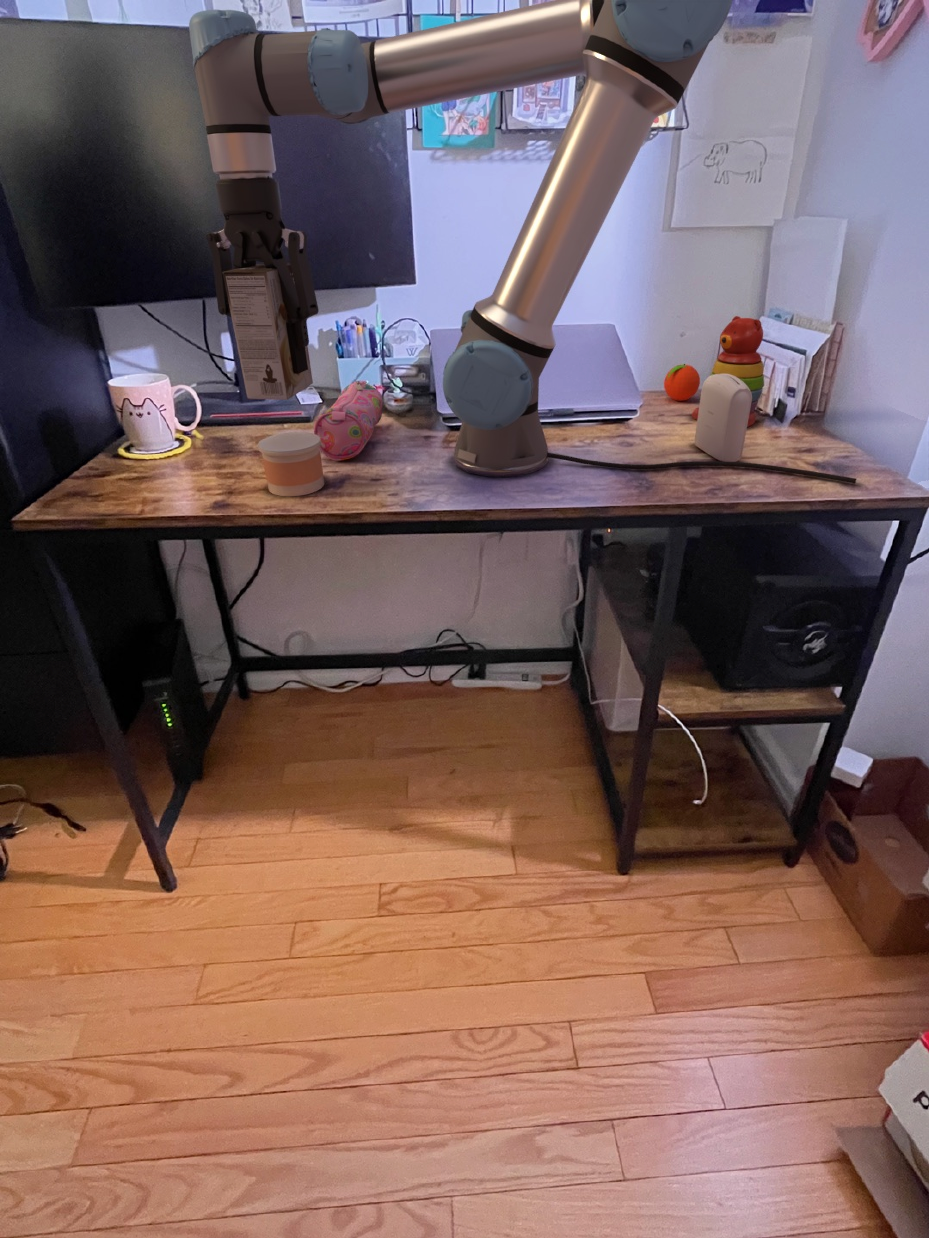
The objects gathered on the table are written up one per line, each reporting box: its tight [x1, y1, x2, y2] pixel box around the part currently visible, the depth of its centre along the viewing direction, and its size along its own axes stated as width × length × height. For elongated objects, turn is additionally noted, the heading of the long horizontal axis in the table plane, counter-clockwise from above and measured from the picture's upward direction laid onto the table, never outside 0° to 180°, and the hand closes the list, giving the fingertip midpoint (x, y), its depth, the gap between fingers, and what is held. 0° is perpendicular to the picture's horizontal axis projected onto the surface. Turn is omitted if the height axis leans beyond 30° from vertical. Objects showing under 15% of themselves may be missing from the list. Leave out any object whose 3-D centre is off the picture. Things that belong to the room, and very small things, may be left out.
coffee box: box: [223, 262, 314, 401], centre depth 96 cm, size 9×6×16 cm
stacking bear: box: [691, 315, 765, 428], centre depth 125 cm, size 11×10×18 cm
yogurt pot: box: [257, 431, 325, 497], centre depth 106 cm, size 9×9×7 cm
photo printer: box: [694, 374, 752, 462], centre depth 112 cm, size 10×4×12 cm, turn 11°
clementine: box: [663, 363, 701, 402], centre depth 141 cm, size 8×7×7 cm
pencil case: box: [313, 380, 384, 461], centre depth 122 cm, size 21×9×9 cm, turn 176°
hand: (277, 369), depth 99 cm, fingers closed on coffee box, 7 cm apart
